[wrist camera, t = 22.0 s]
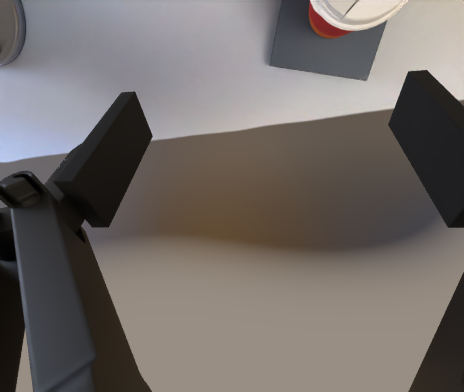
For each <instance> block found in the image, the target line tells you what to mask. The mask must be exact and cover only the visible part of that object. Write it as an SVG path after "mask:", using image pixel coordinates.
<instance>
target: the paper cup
mask: <svg viewBox="0 0 464 392" xmlns="http://www.w3.org/2000/svg"><path fill="white" fill-rule="evenodd" d="M407 1H408V0H310V3H309V20H310V24H311V26H312V28H313V30H314V31H315V32H316V33H317V34H318V35H319V36H321V37H324V38H328V39H332V38H338V37H341V36H343V35H346V34H348V33H350V32H353V31H358V30H365V29H368V28H372V27H375V26H377V25H379V24H381V23H383V22H384V21H386V20H387V19H389V18H390V17H392V16H393V15H394V14H395V13H397V12H398V11H399V10H400V9H401V8H402V7H403V6H404V5H405V4H406V2H407Z"/></svg>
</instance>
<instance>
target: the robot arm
mask: <svg viewBox="0 0 464 392" xmlns="http://www.w3.org/2000/svg"><path fill="white" fill-rule="evenodd" d="M24 39H25V18H24V12H23V8H22V4H21V1H20V0H0V65H5V64H8V63H10V62H12V61H13V60H14V59H15V58H16V57H17V56H18V55H19V53H20V51H21V49H22V47H23V44H24ZM388 125H389V127H390V129H391V130H392V132H393V134H394V135H395V137H396V139H397V140H398V142H399V144H400V146H401V148H402V149H403V151H404V153H405V154H406V156H407V158H408V160H409V161H410V163H411V165H412V167H413V168H414V170H415V172H416V173H417V175H418V177H419V178H420V180H421V182H422V184H423V185H424V187H425V189H426V191H427V192H428V194H429V196H430V198H431V199H432V201H433V203H434V204H435V206H436V208H437V209H438V211H439V213H440V215H441V216H442V218H443V220H444V222H445V223H446V225H447V227H449V228H464V106H463V105H462V104H461V103H460V102H459V101H458V100H457V99H456V98H455V97H454V96H453V95H452V94H451V93H450V92H449V91H448V90H447V89H446V88H445V87H444V86H443V85H442V84H441V83H439V82H438V81H437V80H436V79H435V78H434V77H433V76H432V75H431V74H430V73H429V72H428V71H427V70H421V71H408V74H407V76H406V79H405V82H404V84H403V87H402V90H401V92H400V95H399V97H398V100H397V103H396V105H395V108H394V111H393V113H392V116H391V119H390V122H389V124H388ZM152 137H153V136H152V133H151V131H150V128H149V126H148V123H147V121H146V118H145V115H144V113H143V110H142V108H141V105H140V103H139V100H138V98H137V95H136V93H135V92H122V93H121V94H120V95H119V96H118V97H117V99H116V100H115V101H114V103H113V104H112V105H111V107H110V108H109V109H108V111H107V112H106V113H105V114H104V116H103V117H102V118H101V120H100V121H99V122H98V124H97V125H96V126H95V128H94V129H93V130H92V131H91V133H90V134H89V135H88V137H87V138H86V139H85V141H84V142H83V143H82V144H80V145H78V146H77V147H76V148H74V149H73V150H72V151H71V152H70V153H69V154H68V155H67V157H66V158H65V160H64V161H63V162H62V163H61V164H60V167H58V168H57V169H56V171H55V172H54V173H53V174H52V176H51V177H50V178H49V179H48V181H47V182H46V183H45V185H43V184H42V183H41V182H40V181H39V180H38V178H37V177H36V176H35V175H34V174H33V173H32V172H29V171H21V172H17V173H14V174H12V175H10V176H8V177H6V178H4V179H3V180H2V181H0V200H1V201H2V202H3V203H5V204H6V205H7V206H8V207H5V208H1V209H0V392H15V390H16V384H17V377H18V370H19V364H20V358H21V351H22V345H23V338H24V332H25V328H26V337H27V345H28V353H29V361H30V369H31V376H32V385H33V392H152V391H151V389H150V388H149V386H148V385H147V383H146V382H145V381H144V379H143V378H142V376H141V374H140V372H139V370H138V367H137V365H136V362H135V359H134V357H133V354H132V352H131V349H130V346H129V344H128V341H127V339H126V336H125V333H124V331H123V328H122V326H121V323H120V320H119V318H118V315H117V313H116V310H115V307H114V305H113V302H112V300H111V297H110V294H109V292H108V289H107V287H106V284H105V281H104V279H103V276H102V273H101V271H100V268H99V266H98V263H97V260H96V258H95V255H94V253H93V250H92V247H91V245H90V242H89V240H88V237H87V235H86V232H85V230H84V229H83V228H82V227H81V225H82V223H83V222H84V220H86V221H87V222H88V223H89V224H90V225H91V227H109V226H110V224H111V222H112V220H113V218H114V216H115V213H116V211H117V209H118V207H119V205H120V203H121V201H122V199H123V197H124V195H125V193H126V191H127V189H128V186H129V184H130V182H131V180H132V178H133V176H134V174H135V172H136V170H137V168H138V166H139V163H140V162H141V159H142V157H143V155H144V153H145V151H146V149H147V147H148V145H149V143H150V141H151V139H152ZM409 392H464V273H463V275H462V277H461V279H460V281H459V283H458V286H457V288H456V290H455V292H454V294H453V297H452V299H451V301H450V303H449V305H448V307H447V309H446V312H445V314H444V316H443V318H442V320H441V322H440V325H439V327H438V329H437V331H436V333H435V335H434V338H433V340H432V342H431V344H430V346H429V349H428V351H427V353H426V355H425V357H424V359H423V361H422V364H421V366H420V368H419V370H418V372H417V374H416V377H415V379H414V381H413V383H412V385H411V387H410V390H409Z"/></svg>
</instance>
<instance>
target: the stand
mask: <svg viewBox="0 0 464 392" xmlns="http://www.w3.org/2000/svg"><path fill="white" fill-rule="evenodd" d="M309 3H310V0H282V2H281V8H280V13H279V18H278V24H277V29H276V34H275V40H274V45H273V51H272V56H271V61H270V66H275V67H281V68H287V69H294V70H300V71H306V72H313V73H319V74H326V75H332V76H338V77H345V78H351V79H357V80H364V81H366V80H367V78H368V76H369V73H370V70H371V67H372V64H373V61H374V58H375V55H376V52H377V49H378V46H379V43H380V40H381V37H382V34H383V31H384V28H385V25H386V22H387V20H386V21H384V22H383V23H381V24H379V25H377V26H375V27H372V28H368V29H365V30H358V31H353V32H350V33H348V34H346V35H343V36H341V37H338V38H332V39H328V38H324V37H321V36H319V35H318V34H317V33H316V32H315V31H314V30H313V28H312V26H311V24H310V20H309Z"/></svg>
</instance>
